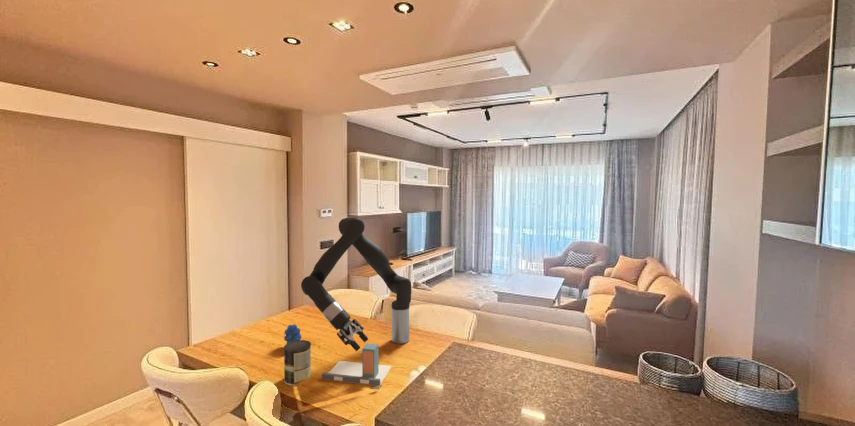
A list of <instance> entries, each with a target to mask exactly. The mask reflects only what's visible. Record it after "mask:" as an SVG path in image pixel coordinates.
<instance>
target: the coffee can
mask: <svg viewBox="0 0 855 426" xmlns="http://www.w3.org/2000/svg"><path fill="white" fill-rule="evenodd" d="M311 346H312V342H310V341H309V340H304V339H300V340H297V341H292V342H289V343H287V342H286V344H285V345H284V346H283V363H284V364H283V365H284V366H283V370H284V371H283V372H284V375H283V376H284V377H283V378H284V381H283V382H284V384H285V385H287V386H289V387H290V386H291V387H292V386H293V387H295V386H298V384H297V382H298V383H299V382H302V381H304V380H306V379H309V377H310V376H311V373H312V372H311V370H312V369H311V367H312V365H311V364H312V362H311V360H312V356H311V354H312V353H311V352H312V350H311Z"/></svg>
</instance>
